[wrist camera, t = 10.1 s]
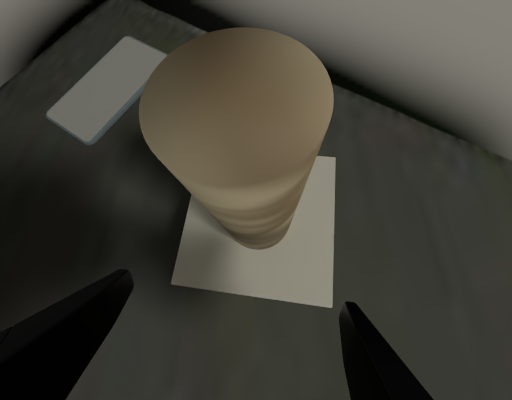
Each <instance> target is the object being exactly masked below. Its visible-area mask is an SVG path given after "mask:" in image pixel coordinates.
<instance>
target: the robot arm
mask: <svg viewBox="0 0 512 400" xmlns="http://www.w3.org/2000/svg"><path fill="white" fill-rule="evenodd" d="M133 287H134V283H133V279H132V275H131V272H130V271H129V270H124V269H119V270H117V271H115V272H113V273H111V274H110V275H108V276H106V277H104V278H102V279H100V280H98V281H96V282H94V283H93V284H91V285H89V286H87V287H85V288H83V289H81V290H79V291H77V292H76V293H74V294H72V295H70V296H68V297H66V298H64V299H62V300H61V301H59V302H57V303H55V304H53V305H51V306H49V307H47V308H45V309H44V310H42V311H40V312H38V313H36V314H34V315H32V316H30V317H28V318H27V319H25V320H23V321H21V322H19V323H17V324H15V325H14V326H13V327H9V328H8V329H6V330H4V331H2V332H0V400H65V399H66V398H67V396H68V395H69V393H70V392H71V390H72V389H73V387H74V386H75V384H76V383H77V381H78V379H79V378H80V376H81V375H82V373H83V372H84V370H85V369H86V367H87V366H88V364H89V362H90V361H91V359H92V358H93V356H94V355H95V353H96V352H97V350H98V349H99V347H100V346H101V344H102V342H103V341H104V339H105V338H106V336H107V335H108V333H109V332H110V330H111V328H112V327H113V325H114V324H115V322H116V320H117V318H118V316H119V314H120V313H121V311H122V309H123V307H124V305H125V303H126V301H127V299H128V297H129V296H130V294H131V292H132V290H133ZM339 325H340V334H341V344H342V354H343V362H344V368H345V373H346V378H347V383H348V388H349V393H350V397H351V400H433V398H432V397H431V396H430V395H429V394H428V392H427V391H426V390H425V389H424V387H423V386H422V385H421V384H420V382H419V381H418V380H417V379H416V377H415V376H414V375H413V374H412V372H411V371H410V370H409V369H408V367H407V366H406V365H405V364H404V362H403V361H402V360H401V359H400V357H399V356H398V355H397V354H396V353H395V351H394V350H393V349H392V348H391V346H390V345H389V344H388V343H387V341H386V340H385V339H384V338H383V336H382V335H381V334H380V333H379V331H378V330H377V329H376V328H375V326H374V325H373V324H372V323H371V321H370V320H369V319H368V318H367V316H366V315H365V314H364V313H363V312H362V310H361V309H360V308H359V307H358V305H357V304H356V303H354V302H349V301H344V302H343V305H342V308H341V311H340V315H339Z"/></svg>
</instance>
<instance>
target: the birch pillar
mask: <svg viewBox="0 0 512 400" xmlns="http://www.w3.org/2000/svg"><path fill="white" fill-rule="evenodd" d="M333 103H334V98H333V88H332V84H331V80H330V78H329V75H328V73H327V71H326V69H325V67H324V66H323V64H322V63H321V61H320V60H319V59H318V58H317V57H316V55H315V54H314V53H313V52H311V51H310V50H309V49H308V48H307V47H306V46H304V45H303V44H301V43H300V42H298V41H296V40H294V39H292V38H290V37H288V36H286V35H283V34H281V33H278V32H274V31H270V30H265V29H259V28H230V29H223V30H218V31H214V32H210V33H207V34H204V35H201V36H199V37H196V38H194V39H192V40H190V41H188V42H186V43H184V44H183V45H181V46H180V47H178V48H177V49H175V50H174V51H172V52H171V53H170V54H169V55H168V56H166V57H165V58H164V59H163V60H162V61H161V62H160V63H159V64H158V66H157V67H156V68H155V70H154V71H153V72H152V74H151V75H150V77H149V79H148V80H147V82H146V85H145V87H144V89H143V92H142V96H141V99H140V106H139V121H140V126H141V131H142V134H143V136H144V139H145V141H146V143H147V144H148V146H149V148H150V149H151V151H152V152H153V153H154V154H155V156H156V157H157V158H158V159H159V160H160V161H161V162H162V163H163V164H164V165H165V166H166V168H167V169H168V170H169V171H170V172H171V173H172V174H173V175H174V176H175V177H176V178H177V179H178V180H179V181H180V182H181V183H182V184H183V185H184V187H185V188H186V189H187V190H188V191H189V192H190V193H191V194H192V195H193V196H194V197H195V198H196V199H197V200H198V201H199V202H200V203H201V204H202V206H203V207H204V208H205V209H206V210H207V211H208V212H209V213H210V214H211V215H212V216H213V217H214V218H215V219H216V220H217V221H218V222H219V223H220V225H221V226H222V227H223V228H224V229H225V230H226V231H227V232H228V233H229V234H230V235H231V236H232V237H233V238H234V239H235V240H236V241H237V242H238V243H239V244H241V245H242V246H244V247H247V248H250V249H255V250H261V249H267V248H270V247H272V246H274V245H276V244H277V243H279V242H280V241H281V240H282V239H283V238H284V236H285V235H286V233H287V231H288V229H289V227H290V224H291V221H292V219H293V216H294V214H295V211H296V208H297V206H298V203H299V201H300V198H301V196H302V193H303V190H304V188H305V185H306V183H307V180H308V177H309V175H310V172H311V170H312V167H313V164H314V162H315V159H316V157H317V154H318V151H319V149H320V146H321V144H322V141H323V138H324V136H325V133H326V131H327V128H328V125H329V123H330V119H331V116H332V112H333Z"/></svg>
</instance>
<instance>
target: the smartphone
mask: <svg viewBox="0 0 512 400" xmlns="http://www.w3.org/2000/svg"><path fill="white" fill-rule="evenodd" d="M166 56H168V54H166V53H164V52H162V51H160V50H158V49H156V48H154V47H152V46H150V45H147V44H145V43H143V42H141V41H139V40H137V39H135V38H133V37H131V36H125V37H123V38H122V39H121V40H120V41H119V42H118V43H117V44H116V45H115V46H114V47H113V48H112V49H111V50H110V51H109V52H108V53H107V54H106V55H105V56H104V57H103V58H102V59H101V60H99V61H98V62H97V63H96V64H95V65H94V66H93V67H92V68H91V69H90V70H89V71H88V72H87V73H86V74H85V75H84V76H83V77H82V78H81V79H80V80H79V81H78V82H77V83H76V84H75V85H74V86H73V87H72V88H71V89H70V90H69V91H68V92H67V93H66V94H65V95H63V96H62V97H61V98H60V99H59V100H58V101H57V102H56V103H55V104H54V105H53V106H52V107H51V108H50V109H49V110H48V111H47V113H46V117H47V119H48V120H50V121H51V122H53V123H54V124H56V125H57V126H59V127H60V128H62V129H63V130H64V131H66V132H67V133H69V134H70V135H72V136H73V137H75V138H76V139H78V140H79V141H81V142H82V143H83V144H85V145H93V144H94V143H96V142H97V141H98V140H99V138H100V137H101V136H102V135H103V134H104V133H105V132H106V131H107V130H108V129H109V128H110V127H111V126H112V125H113V124H114V123H115V122H116V121H117V120H118V119H119V118H120V117H121V116H122V115H123V114H124V112H125V111H126V110H127V109H128V108H129V107H130V106H131V105H132V104H133V103H134V102H135V101H136V100H137V99H138V98H139V97H140V96H141V95H142V92H143V89H144V87H145V85H146V82H147V80H148V79H149V77H150V75H151V74H152V72H153V71H154V70H155V68H156V67H157V66H158V64H159V63H160V62H161V61H162V60H163V59H164V58H165V57H166Z"/></svg>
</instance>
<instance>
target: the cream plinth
mask: <svg viewBox="0 0 512 400" xmlns="http://www.w3.org/2000/svg"><path fill="white" fill-rule="evenodd" d="M335 159H336V158H335V157H323V156H317V157H316V159H315V162H314V164H313V167H312V170H311V172H310V175H309V177H308V180H307V183H306V185H305V188H304V190H303V193H302V196H301V198H300V201H299V203H298V206H297V208H296V211H295V214H294V216H293V219H292V221H291V224H290V227H289V229H288V231H287V233H286V235H285V236H284V238H283V239H282V240H281V241H280V242H279V243H277V244H276V245H274V246H272V247H270V248H267V249H261V250H255V249H250V248H247V247H244V246H242V245H241V244H239V243H238V242H237V241H236V240H235V239H234V238H233V237H232V236H231V235H230V234H229V233H228V232H227V231H226V230H225V229H224V228H223V227H222V226H221V225H220V223H219V222H218V221H217V220H216V219H215V218H214V217H213V216H212V215H211V214H210V213H209V212H208V211H207V210H206V209H205V208H204V207H203V206H202V204H201V203H200V202H199V201H198V200H197V199H196V198H195V197H194V196H193V195H192V194H191V199H190V203H189V207H188V212H187V216H186V220H185V224H184V229H183V233H182V237H181V242H180V246H179V250H178V255H177V259H176V263H175V268H174V272H173V276H172V281H171V284H172V285H178V286H185V287H192V288H199V289H206V290H213V291H219V292H226V293H233V294H240V295H247V296H254V297H260V298H267V299H274V300H281V301H288V302H295V303H301V304H308V305H315V306H322V307H329V308H332V299H333V252H334V205H335Z"/></svg>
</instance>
